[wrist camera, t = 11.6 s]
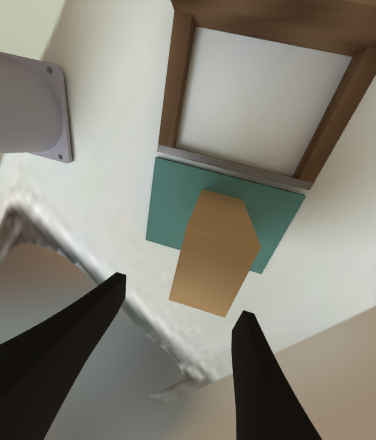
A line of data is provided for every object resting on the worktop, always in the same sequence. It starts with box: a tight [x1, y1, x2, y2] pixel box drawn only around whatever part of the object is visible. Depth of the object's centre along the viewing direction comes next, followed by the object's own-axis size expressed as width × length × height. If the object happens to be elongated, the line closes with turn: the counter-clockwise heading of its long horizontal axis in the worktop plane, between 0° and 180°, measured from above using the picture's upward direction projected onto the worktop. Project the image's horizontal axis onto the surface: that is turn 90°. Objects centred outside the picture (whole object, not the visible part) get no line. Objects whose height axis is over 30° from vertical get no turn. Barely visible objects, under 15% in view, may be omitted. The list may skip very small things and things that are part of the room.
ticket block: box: [169, 189, 261, 317], centre depth 13 cm, size 4×6×8 cm, turn 167°
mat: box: [146, 157, 306, 274], centre depth 17 cm, size 14×10×1 cm
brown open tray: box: [157, 0, 376, 190], centre depth 11 cm, size 13×10×4 cm
